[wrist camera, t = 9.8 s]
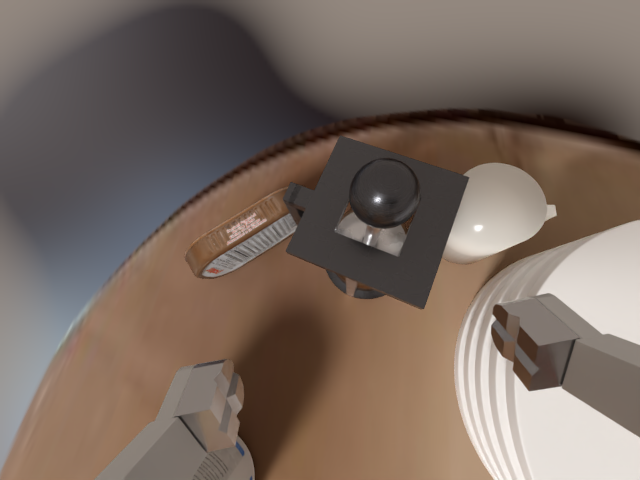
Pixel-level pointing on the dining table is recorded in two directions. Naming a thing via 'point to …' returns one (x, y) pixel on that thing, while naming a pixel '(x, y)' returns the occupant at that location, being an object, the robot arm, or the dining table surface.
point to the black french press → (361, 259)
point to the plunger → (381, 204)
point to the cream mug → (496, 213)
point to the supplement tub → (227, 464)
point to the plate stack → (554, 403)
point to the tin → (241, 237)
